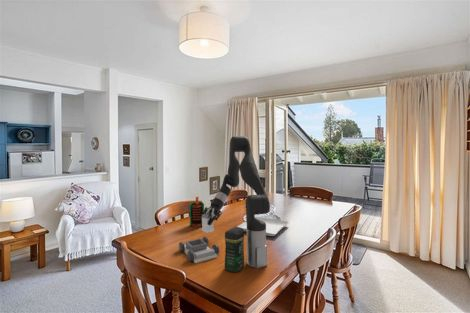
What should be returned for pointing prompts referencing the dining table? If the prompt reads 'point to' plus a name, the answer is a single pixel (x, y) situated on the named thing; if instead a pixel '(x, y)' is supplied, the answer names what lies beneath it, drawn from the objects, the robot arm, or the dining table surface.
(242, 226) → the square plate
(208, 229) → the grey-topped square pillar
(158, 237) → the dining table surface
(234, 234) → the coffee jar
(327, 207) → the dining table surface
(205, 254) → the car chassis
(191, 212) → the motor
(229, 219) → the dining table surface
